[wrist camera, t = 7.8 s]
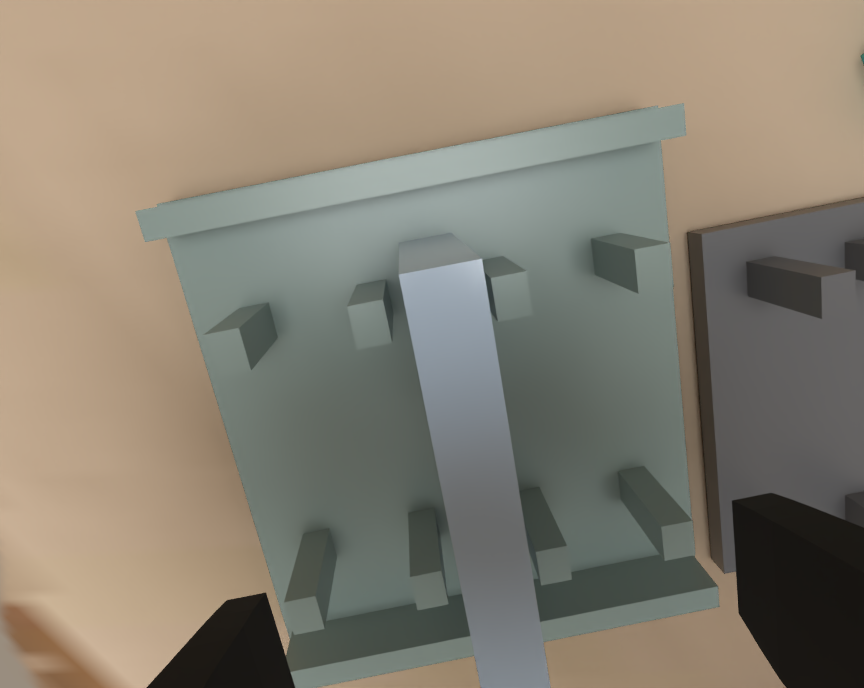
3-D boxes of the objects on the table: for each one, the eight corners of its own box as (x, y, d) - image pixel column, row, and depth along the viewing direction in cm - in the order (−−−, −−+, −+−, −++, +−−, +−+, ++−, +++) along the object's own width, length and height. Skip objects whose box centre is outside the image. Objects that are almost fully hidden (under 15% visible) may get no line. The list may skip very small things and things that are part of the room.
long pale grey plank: (506, 556, 18) (557, 729, 12) (462, 564, 18) (491, 742, 12) (450, 232, 15) (481, 258, 10) (398, 242, 15) (398, 274, 10)
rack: (681, 551, 20) (750, 640, 16) (298, 628, 19) (273, 736, 16) (642, 110, 16) (721, 85, 12) (171, 203, 16) (97, 208, 12)
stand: (886, 523, 20) (997, 600, 16) (711, 558, 20) (783, 643, 16) (891, 191, 17) (1029, 192, 13) (687, 232, 17) (768, 244, 13)
